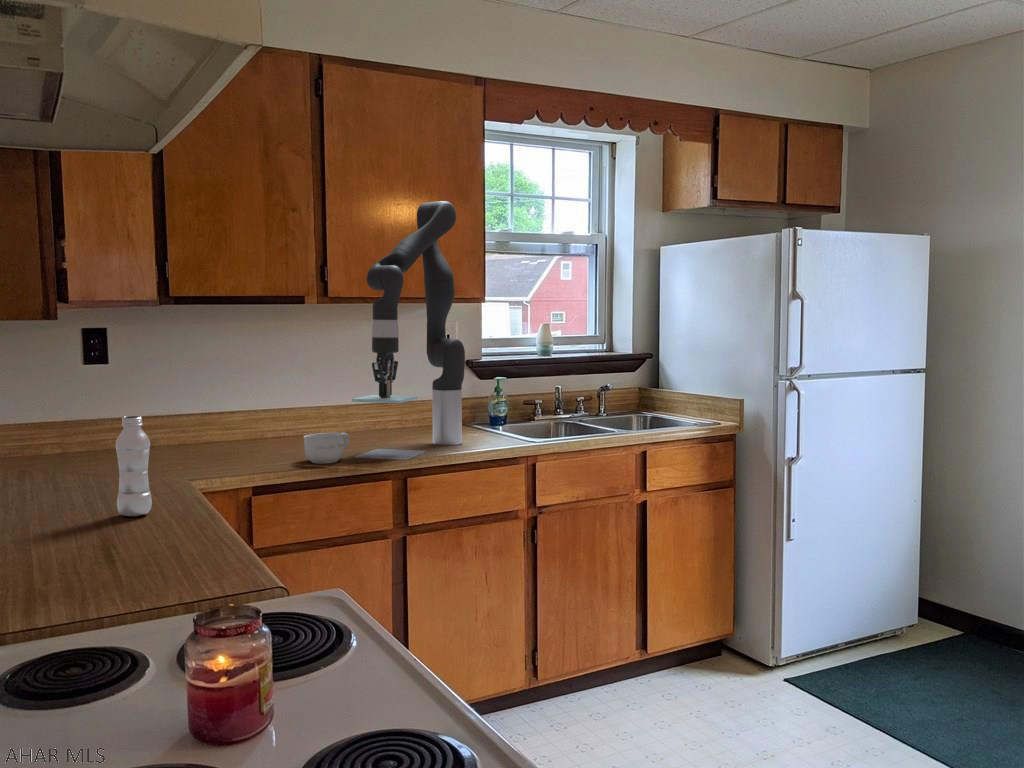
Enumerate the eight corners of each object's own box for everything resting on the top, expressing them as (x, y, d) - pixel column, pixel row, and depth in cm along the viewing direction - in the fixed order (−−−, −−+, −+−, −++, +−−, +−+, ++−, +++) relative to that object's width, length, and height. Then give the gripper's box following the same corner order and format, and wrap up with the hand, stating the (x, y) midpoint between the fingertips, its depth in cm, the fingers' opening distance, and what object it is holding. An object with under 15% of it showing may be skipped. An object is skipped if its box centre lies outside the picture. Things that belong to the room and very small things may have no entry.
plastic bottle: (142, 510, 175) (139, 414, 173) (158, 515, 171) (155, 416, 169) (110, 516, 170) (107, 417, 168) (127, 521, 166) (124, 419, 164)
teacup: (314, 467, 225) (314, 437, 224) (297, 462, 233) (296, 433, 233) (361, 462, 234) (360, 433, 233) (342, 457, 242) (342, 429, 242)
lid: (372, 397, 251) (372, 378, 251) (417, 399, 248) (417, 379, 247) (352, 401, 238) (352, 381, 237) (398, 403, 234) (398, 382, 234)
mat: (376, 450, 255) (376, 448, 255) (426, 452, 251) (426, 451, 251) (353, 458, 239) (353, 457, 239) (406, 461, 235) (406, 459, 235)
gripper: (387, 336, 234) (387, 398, 235) (406, 335, 247) (406, 394, 248) (362, 336, 235) (362, 398, 237) (382, 335, 249) (383, 394, 250)
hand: (385, 396), depth 242 cm, fingers closed on lid, 2 cm apart
